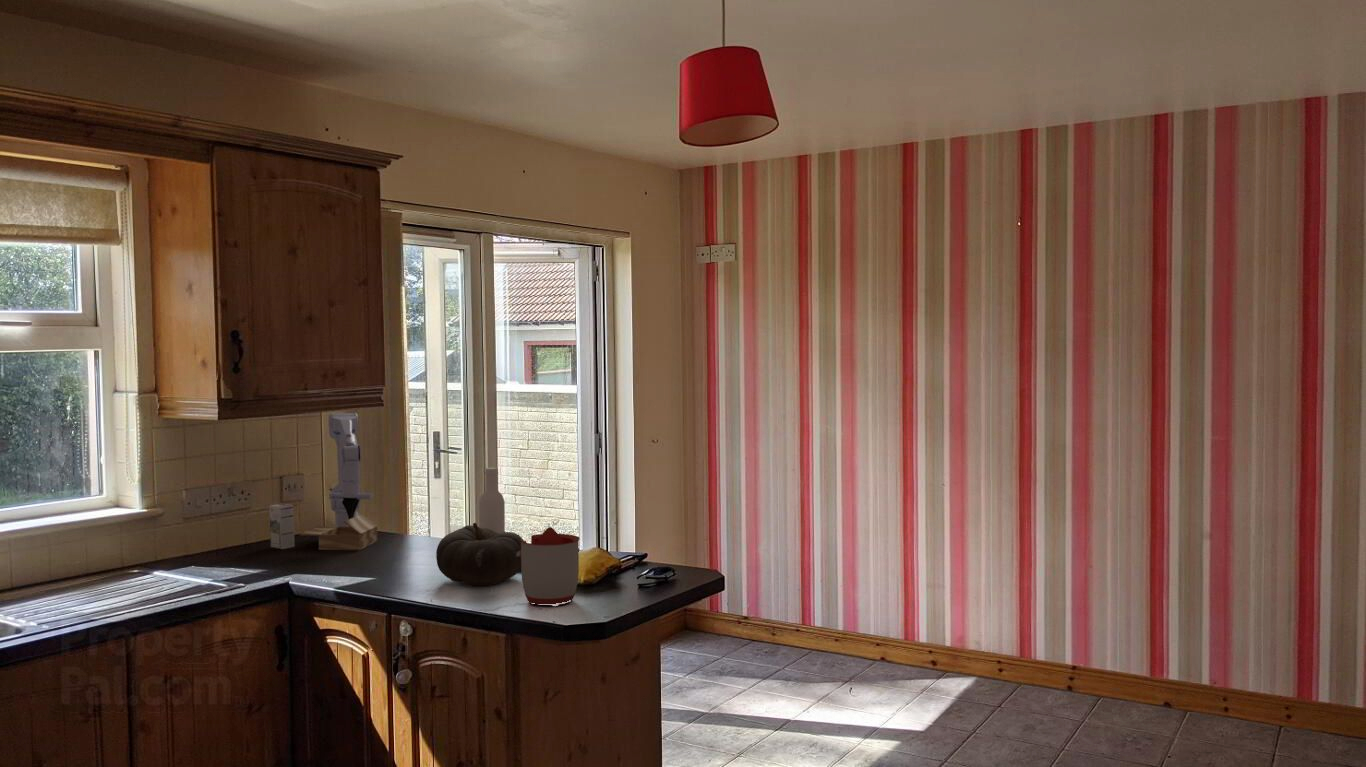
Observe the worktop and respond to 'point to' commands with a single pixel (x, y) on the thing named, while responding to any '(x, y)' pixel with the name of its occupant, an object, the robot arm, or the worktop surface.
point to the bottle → (492, 504)
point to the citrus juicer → (550, 567)
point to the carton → (342, 538)
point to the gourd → (479, 555)
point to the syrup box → (282, 526)
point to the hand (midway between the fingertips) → (351, 520)
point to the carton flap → (360, 524)
